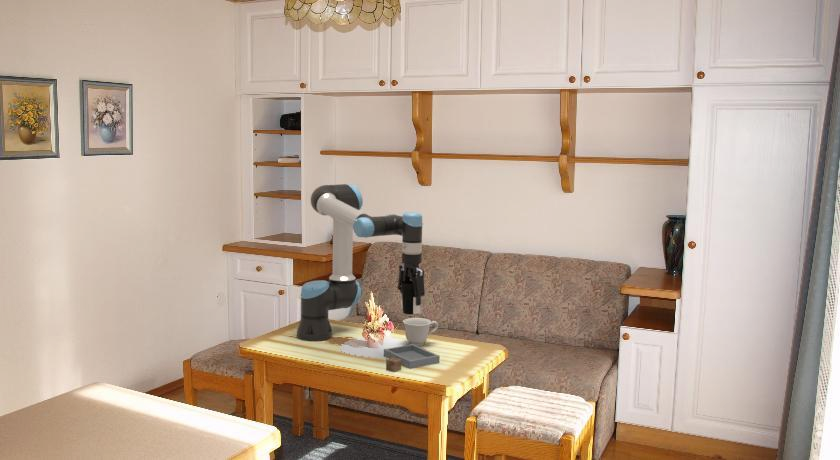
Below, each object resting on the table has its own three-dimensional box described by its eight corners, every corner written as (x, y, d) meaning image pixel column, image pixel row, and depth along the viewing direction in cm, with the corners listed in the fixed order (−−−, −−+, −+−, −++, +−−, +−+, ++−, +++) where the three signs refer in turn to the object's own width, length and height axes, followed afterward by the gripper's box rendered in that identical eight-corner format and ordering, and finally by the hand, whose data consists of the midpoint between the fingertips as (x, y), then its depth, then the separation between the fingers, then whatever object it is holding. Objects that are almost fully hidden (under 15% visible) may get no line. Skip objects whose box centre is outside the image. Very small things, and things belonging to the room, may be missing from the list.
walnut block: (386, 370, 287) (386, 359, 286) (392, 367, 290) (392, 357, 290) (394, 372, 285) (394, 362, 284) (401, 369, 288) (401, 359, 287)
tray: (383, 356, 304) (383, 349, 303) (412, 350, 312) (412, 344, 312) (409, 368, 289) (409, 361, 289) (439, 362, 298) (439, 355, 297)
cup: (417, 315, 293) (418, 284, 291) (398, 314, 295) (399, 283, 293) (422, 311, 300) (422, 281, 299) (403, 309, 302) (403, 279, 300)
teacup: (440, 347, 317) (441, 324, 316) (405, 349, 314) (406, 325, 312) (433, 339, 329) (434, 316, 328) (399, 341, 325) (400, 318, 324)
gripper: (389, 249, 301) (388, 306, 304) (419, 257, 284) (417, 317, 287) (405, 248, 305) (403, 304, 308) (435, 256, 288) (433, 315, 291)
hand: (410, 311), depth 297 cm, fingers closed on cup, 8 cm apart
